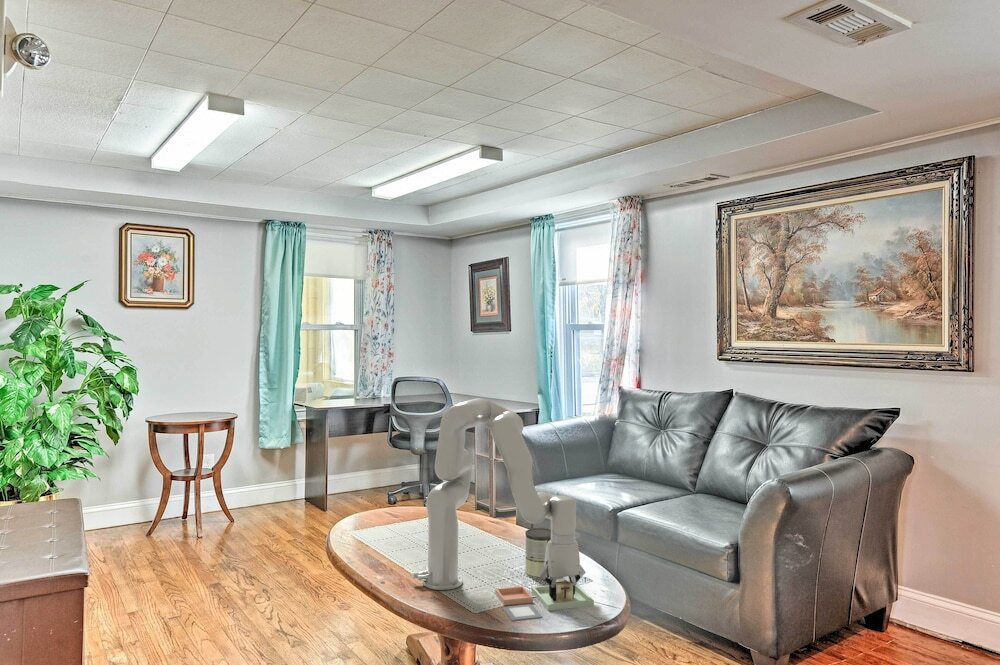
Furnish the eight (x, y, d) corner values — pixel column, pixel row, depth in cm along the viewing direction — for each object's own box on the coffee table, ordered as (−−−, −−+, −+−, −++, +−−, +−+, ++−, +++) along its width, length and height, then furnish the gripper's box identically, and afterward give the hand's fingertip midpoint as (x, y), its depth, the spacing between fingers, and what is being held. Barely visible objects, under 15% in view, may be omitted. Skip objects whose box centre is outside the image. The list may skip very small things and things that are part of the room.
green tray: (547, 612, 202) (547, 605, 201) (531, 593, 215) (531, 586, 215) (593, 607, 206) (593, 600, 206) (574, 589, 219) (574, 582, 219)
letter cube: (557, 602, 207) (557, 585, 207) (551, 596, 212) (551, 579, 212) (572, 600, 209) (573, 584, 209) (566, 594, 214) (566, 578, 214)
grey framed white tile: (511, 622, 194) (511, 619, 194) (502, 609, 202) (502, 607, 202) (542, 619, 196) (542, 616, 196) (531, 606, 205) (531, 604, 205)
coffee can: (525, 568, 237) (526, 527, 237) (555, 570, 236) (556, 528, 236) (523, 579, 227) (524, 536, 227) (555, 581, 226) (556, 537, 226)
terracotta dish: (503, 606, 205) (503, 600, 205) (495, 595, 213) (495, 588, 213) (532, 603, 207) (532, 597, 207) (523, 592, 216) (523, 586, 216)
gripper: (584, 532, 216) (583, 590, 216) (532, 536, 211) (531, 596, 212) (594, 539, 209) (593, 600, 209) (540, 543, 204) (539, 605, 204)
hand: (561, 597), depth 210 cm, fingers closed on letter cube, 5 cm apart
